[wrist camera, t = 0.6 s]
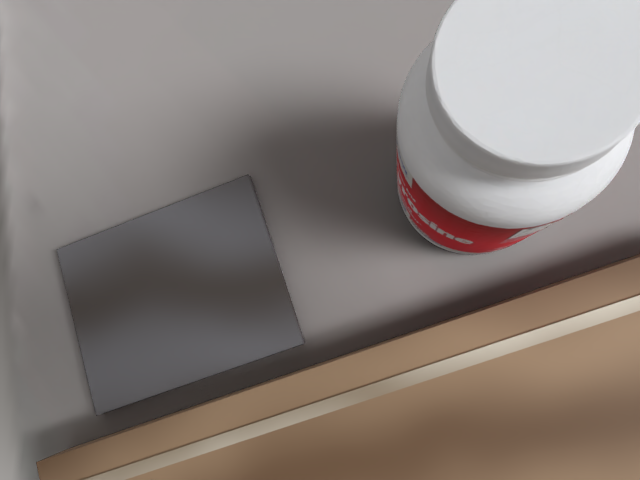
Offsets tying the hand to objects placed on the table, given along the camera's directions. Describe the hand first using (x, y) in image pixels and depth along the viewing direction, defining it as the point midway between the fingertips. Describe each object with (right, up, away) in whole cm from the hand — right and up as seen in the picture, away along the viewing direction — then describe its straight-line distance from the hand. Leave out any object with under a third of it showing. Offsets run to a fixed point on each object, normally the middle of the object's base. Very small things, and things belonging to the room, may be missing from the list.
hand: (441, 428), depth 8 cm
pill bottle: (+5, +5, +14) cm, 15 cm away
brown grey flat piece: (0, -2, +13) cm, 13 cm away
